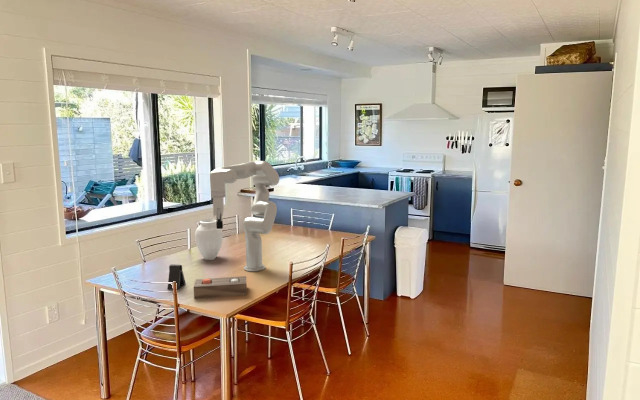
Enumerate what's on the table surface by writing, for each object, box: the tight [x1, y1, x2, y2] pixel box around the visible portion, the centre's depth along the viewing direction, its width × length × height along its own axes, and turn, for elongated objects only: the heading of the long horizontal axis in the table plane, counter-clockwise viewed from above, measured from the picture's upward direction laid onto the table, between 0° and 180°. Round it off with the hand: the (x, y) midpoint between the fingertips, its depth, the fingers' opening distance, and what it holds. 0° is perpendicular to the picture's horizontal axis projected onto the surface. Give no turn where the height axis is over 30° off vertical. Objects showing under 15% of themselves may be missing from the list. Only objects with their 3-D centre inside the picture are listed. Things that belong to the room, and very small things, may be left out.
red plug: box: [203, 278, 211, 284], centre depth 238 cm, size 4×4×6 cm
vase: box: [194, 218, 224, 261], centre depth 300 cm, size 18×18×25 cm
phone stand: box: [167, 264, 186, 290], centre depth 248 cm, size 9×6×12 cm, turn 170°
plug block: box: [193, 275, 248, 299], centre depth 239 cm, size 12×26×6 cm, turn 99°
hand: (219, 228), depth 247 cm, fingers closed
